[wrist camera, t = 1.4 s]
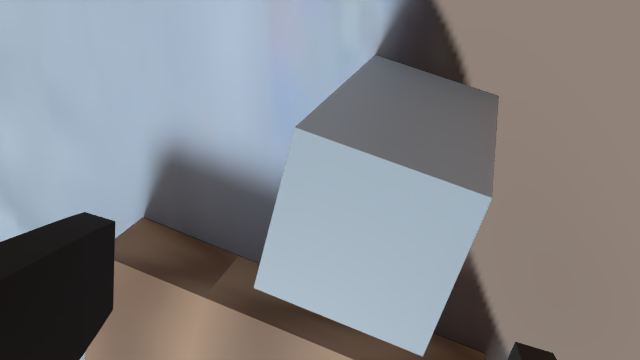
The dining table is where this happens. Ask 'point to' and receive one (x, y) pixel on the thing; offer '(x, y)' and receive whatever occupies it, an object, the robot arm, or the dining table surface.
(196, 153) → the dining table surface
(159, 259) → the socket block
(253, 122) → the dining table surface
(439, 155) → the peg
